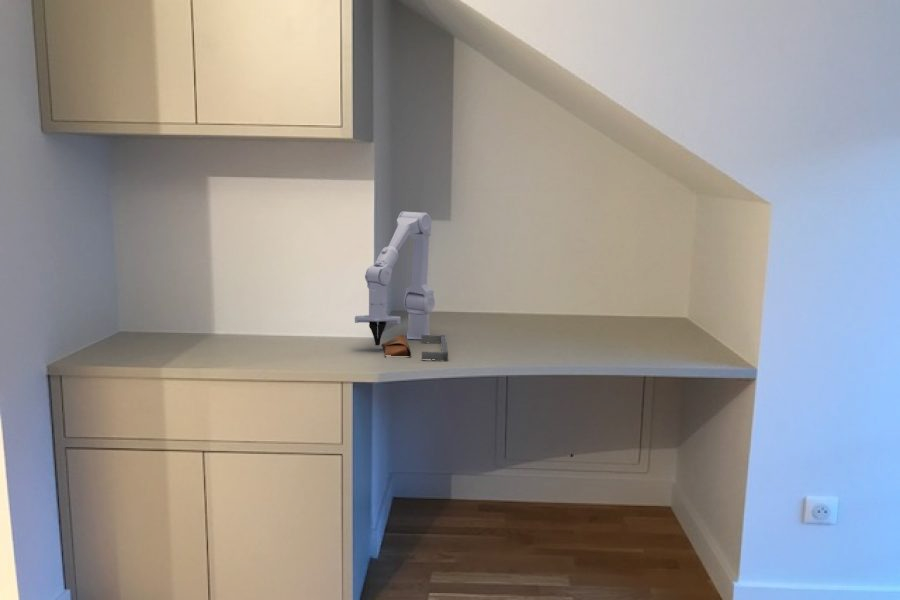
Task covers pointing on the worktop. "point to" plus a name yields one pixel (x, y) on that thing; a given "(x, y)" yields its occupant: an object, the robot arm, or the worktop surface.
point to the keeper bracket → (435, 339)
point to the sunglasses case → (397, 347)
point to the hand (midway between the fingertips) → (377, 344)
